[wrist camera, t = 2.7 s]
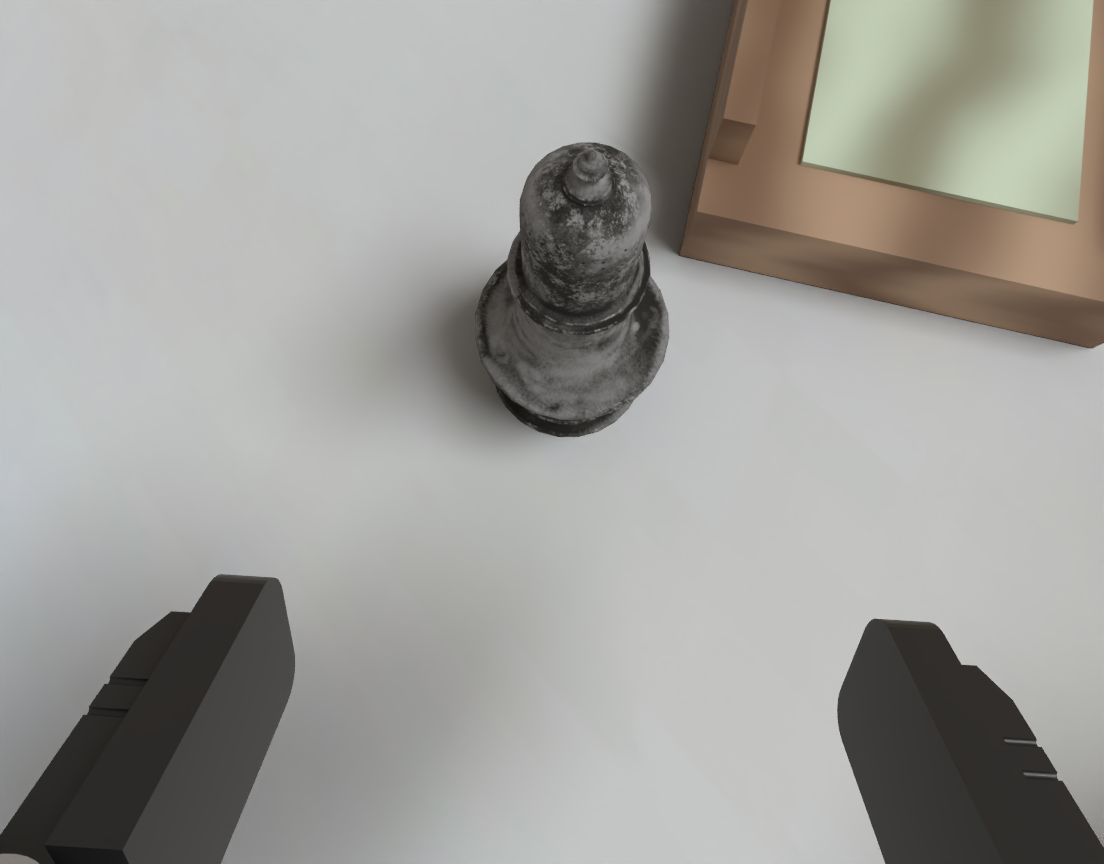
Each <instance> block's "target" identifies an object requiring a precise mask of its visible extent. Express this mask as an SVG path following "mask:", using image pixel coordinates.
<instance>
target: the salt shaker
mask: <svg viewBox="0 0 1104 864" xmlns="http://www.w3.org/2000/svg"><path fill="white" fill-rule="evenodd" d="M651 215H652V206H651V192H650V189H649V185H648V182H647V179H646V177H645V175H644V174H643V172H642V171H641V169H640V168H639V166H638V165H637V164H636V163H635V162H634V161H633V160H632V159H631V158H630V157H628V156H627V155H626V154H625V153H623V152H621V151H619V150H617V149H615V148H613V147H611V146H607V145H603V144H599V143H576V144H572V145H567V146H563V147H561V148H559V149H557V150H555V151H553V152H551V153H549V154H548V155H546V156H545V157H544V158H543V159H542V160H541V161H540V162H538V163H537V164H536V165H535V167H534V168H533V170H532V171H531V173H530V174H529V176H528V177H527V180H526V183H525V185H524V188H523V192H522V195H521V198H520V232H519V233H518V235H517V236H516V238H515V239H514V241H513V243H512V246H511V249H510V253H509V256H508V260H506V261H505V262H504V263H503V264H502V265H501V266H500V267H499V268H498V269H496V270H495V272H494V274H493V275H492V277H491V278H490V280H489V281H488V283H487V284H486V286H485V287H484V289H483V291H482V294H481V297H480V300H479V304H478V307H477V310H476V316H475V339H476V343H477V346H478V350H479V354H480V358H481V362H482V363H483V365H484V367H485V368H486V370H487V372H488V374H489V375H490V377H491V379H492V380H493V382H494V383H495V384H496V388H497V391H498V393H499V395H500V397H501V398H502V400H503V402H504V403H505V405H506V407H507V408H508V409H509V410H510V411H511V412H512V413H513V414H514V415H515V416H516V417H517V418H518V419H519V420H520V421H521V422H523V423H524V424H526V425H528V426H530V427H532V428H533V429H535V430H537V431H539V432H542V433H546V434H550V435H554V436H558V437H579V436H583V435H587V434H591V433H594V432H598V431H600V430H602V429H603V428H605V427H607V426H609V425H610V424H612V423H614V422H615V421H616V420H617V419H618V418H619V417H620V416H621V415H622V414H623V413H624V412H625V411H627V410H628V409H629V407H630V405H631V404H632V402H633V400H634V399H635V398H636V397H637V396H638V395H639V394H641V393H642V392H643V391H644V390H645V389H646V388H647V387H648V386H649V385H650V384H651V382H652V380H653V379H654V377H655V375H656V373H657V372H658V370H659V368H660V366H661V365H662V363H663V361H664V357H665V352H666V348H667V344H668V340H669V324H668V312H667V309H666V306H665V303H664V300H663V297H662V294H661V291H660V289H659V288H658V286H657V285H656V283H655V282H654V280H653V279H652V277H651V276H650V257H649V253H648V250H647V247H646V244H645V237H646V234H647V230H648V227H649V223H650V219H651Z"/></svg>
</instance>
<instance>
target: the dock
mask: <svg viewBox="0 0 1104 864" xmlns="http://www.w3.org/2000/svg"><path fill="white" fill-rule="evenodd" d="M679 255H680V256H684V257H689V258H693V259H698V260H702V261H706V262H711V263H715V264H720V265H724V266H729V267H733V268H738V269H742V270H746V271H751V272H755V273H760V274H764V275H769V276H773V277H778V278H782V279H786V280H791V281H795V282H800V283H804V284H809V285H813V286H817V287H822V288H826V289H831V290H835V291H840V292H844V293H849V294H853V295H857V296H862V297H866V298H871V299H875V300H880V301H884V302H889V303H893V304H897V305H902V306H906V307H911V308H915V309H920V310H924V311H929V312H933V313H937V314H942V315H946V316H951V317H955V318H960V319H964V320H969V321H973V322H977V323H982V324H986V325H991V326H995V327H1000V328H1004V329H1009V330H1013V331H1017V332H1022V333H1026V334H1031V335H1035V336H1040V337H1044V338H1049V339H1053V340H1057V341H1062V342H1066V343H1071V344H1075V345H1080V346H1084V347H1089V348H1094V347H1096V346H1098V345H1100V344H1102V343H1104V0H734V4H733V8H732V13H731V18H730V22H729V27H728V32H727V36H726V41H725V45H724V50H723V55H722V59H721V64H720V69H719V73H718V78H717V83H716V87H715V92H714V96H713V101H712V106H711V110H710V115H709V120H708V124H707V129H706V134H705V138H704V143H703V147H702V152H701V157H700V161H699V166H698V171H697V175H696V180H695V185H694V189H693V194H692V198H691V203H690V208H689V212H688V217H687V222H686V226H685V231H684V236H683V240H682V245H681V249H680V254H679Z"/></svg>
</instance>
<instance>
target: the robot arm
mask: <svg viewBox="0 0 1104 864" xmlns="http://www.w3.org/2000/svg"><path fill="white" fill-rule="evenodd" d="M294 671H295V654H294V648H293V643H292V637H291V632H290V627H289V622H288V617H287V611H286V606H285V601H284V596H283V590H282V586H281V584H280V582H279V580H278V579H277V578H270V577H254V576H239V575H224V574H220V575H217V576H216V577H214V578H213V580H212V581H211V582H210V583H209V585H208V586H207V588H206V589H205V591H204V592H203V594H202V596H201V597H200V599H199V600H198V602H197V604H196V605H195V607H194V608H193V610H192V612H191V613H188V612H172V611H171V612H170V613H169V614H168V615H166V616H165V617H164V618H163V619H161V620H160V621H159V622H158V623H156V624H155V625H154V626H153V627H151V628H150V629H149V630H148V631H146V632H145V633H144V634H143V635H141V636H140V637H139V638H138V639H136V640H135V641H134V642H133V644H132V645H131V647H130V648H129V650H128V651H127V653H126V654H125V656H124V657H123V658H122V660H121V661H120V663H119V664H118V666H117V667H116V669H115V670H114V671H113V673H112V674H111V676H110V681H109V683H108V684H104V686H103V687H102V689H101V690H100V692H99V693H98V695H97V696H96V698H95V699H94V700H93V702H92V703H91V705H90V706H89V712H88V714H87V715H83V716H82V718H81V719H80V721H79V722H78V724H77V725H76V726H75V728H74V729H73V731H72V732H71V734H70V735H69V737H68V738H67V740H66V741H65V742H64V744H63V745H62V747H61V748H60V750H59V751H58V753H57V754H56V755H55V757H54V758H53V760H52V761H51V763H50V764H49V766H48V767H47V768H46V770H45V771H44V773H43V774H42V776H41V777H40V779H39V780H38V782H37V783H36V784H35V786H34V787H33V789H32V790H31V792H30V793H29V795H28V796H27V797H26V799H25V800H24V802H23V803H22V805H21V806H20V808H19V809H18V810H17V812H16V813H15V815H14V816H13V818H12V819H11V821H10V822H9V824H8V825H7V826H6V828H5V829H4V831H3V832H2V834H1V835H0V864H221V861H222V859H223V856H224V854H225V851H226V849H227V847H228V844H229V842H230V839H231V837H232V835H233V832H234V830H235V827H236V825H237V822H238V820H239V818H240V815H241V813H242V810H243V808H244V806H245V803H246V801H247V798H248V796H249V793H250V791H251V789H252V786H253V784H254V781H255V779H256V777H257V774H258V772H259V769H260V767H261V765H262V762H263V760H264V757H265V755H266V752H267V750H268V748H269V745H270V743H271V740H272V738H273V736H274V733H275V731H276V728H277V726H278V723H279V721H280V719H281V716H282V714H283V711H284V709H285V707H286V704H287V702H288V699H289V696H290V693H291V689H292V684H293V679H294ZM837 711H838V725H839V731H840V735H841V738H842V742H843V745H844V747H845V750H846V753H847V756H848V759H849V762H850V764H851V767H852V770H853V773H854V776H855V778H856V781H857V784H858V787H859V790H860V793H861V795H862V798H863V801H864V804H865V807H866V810H867V812H868V815H869V818H870V821H871V824H872V827H873V829H874V832H875V835H876V838H877V841H878V844H879V846H880V849H881V852H882V855H883V858H884V861H885V863H886V864H1104V848H1103V846H1102V844H1101V843H1100V841H1099V840H1098V838H1097V836H1096V835H1095V833H1094V831H1093V830H1092V828H1091V827H1090V825H1089V823H1088V822H1087V820H1086V819H1085V817H1084V815H1083V814H1082V812H1081V810H1080V809H1079V807H1078V806H1077V804H1076V802H1075V801H1074V799H1073V797H1072V796H1071V794H1070V793H1069V791H1068V789H1067V788H1066V786H1065V784H1064V783H1063V781H1059V780H1058V779H1057V775H1056V774H1057V771H1056V770H1055V768H1054V767H1053V765H1052V763H1051V762H1050V760H1049V758H1048V757H1047V755H1046V754H1045V752H1044V750H1043V749H1042V747H1038V746H1037V744H1036V740H1037V739H1036V737H1035V736H1034V734H1033V732H1032V731H1031V729H1030V728H1029V726H1028V724H1027V723H1026V721H1025V719H1024V718H1023V716H1022V715H1021V713H1020V711H1019V710H1018V708H1017V706H1016V705H1015V703H1014V702H1013V700H1012V699H1011V698H1010V697H1009V696H1008V695H1007V694H1006V693H1005V692H1003V691H1002V690H1001V689H1000V688H999V687H998V686H997V685H996V684H995V683H994V682H993V681H992V680H991V679H990V678H989V677H988V676H987V675H986V674H984V673H983V672H982V671H981V670H980V669H979V668H978V667H977V666H971V665H961V663H960V662H959V660H958V658H957V656H956V655H955V653H954V651H953V649H952V648H951V646H950V644H949V642H948V641H947V639H946V637H945V635H944V634H943V632H942V631H941V630H940V628H939V627H938V626H936V625H935V624H933V623H931V622H917V621H901V620H886V619H873V620H871V621H870V622H869V623H868V624H867V626H866V628H865V630H864V633H863V635H862V638H861V640H860V643H859V645H858V648H857V650H856V653H855V655H854V657H853V660H852V662H851V665H850V667H849V670H848V672H847V675H846V677H845V680H844V682H843V685H842V687H841V690H840V693H839V698H838V709H837Z"/></svg>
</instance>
